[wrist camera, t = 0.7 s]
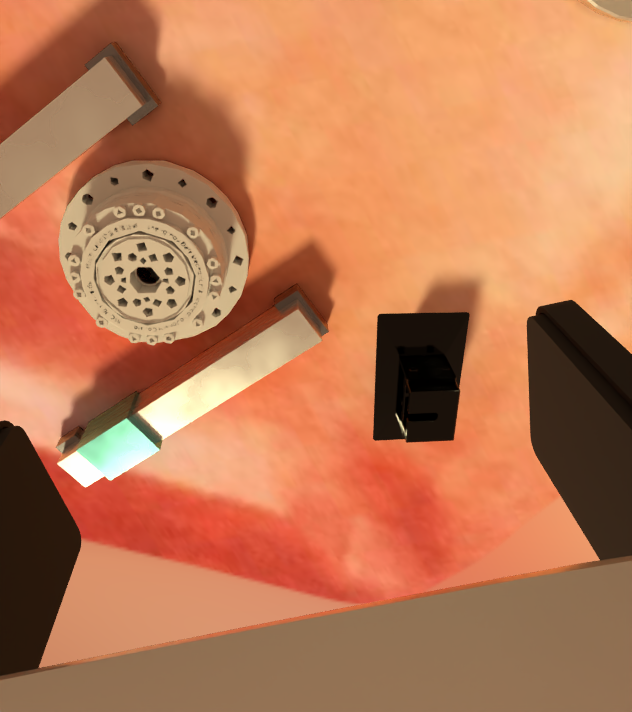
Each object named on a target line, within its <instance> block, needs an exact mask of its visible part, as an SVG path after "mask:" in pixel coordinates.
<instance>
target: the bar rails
mask: <svg viewBox="0 0 632 712" xmlns="http://www.w3.org/2000/svg"><path fill="white" fill-rule="evenodd" d="M85 66H86V67H87V69H88V70H89V71H88V72H86V73H85V74H84V75H83V76H82V77H80V78H79V79H78V80H77V81H76V82H74V83H73V84H72V85H71V86H70V87H68V88H67V89H66V90H65V91H64V92H62V93H61V94H60V95H59V96H58V97H56V98H55V99H54V100H53V101H52V102H50V103H49V104H48V105H47V106H46V107H44V108H43V109H42V110H41V111H40V112H38V113H37V114H36V115H35V116H34V117H32V118H31V119H30V120H29V121H28V122H26V123H25V124H24V125H23V126H22V127H20V128H19V129H18V130H17V131H16V132H14V133H13V134H12V135H11V136H9V137H8V138H7V139H6V140H5V141H3V142H2V143H1V144H0V219H1V218H2V217H3V216H5V215H6V214H7V213H8V212H10V211H11V210H12V209H14V208H15V207H16V206H17V205H19V204H20V203H21V202H22V201H24V200H25V199H26V198H27V197H29V196H30V195H31V194H32V193H34V192H35V191H36V190H37V189H39V188H40V187H41V186H43V185H44V184H45V183H46V182H48V181H49V180H50V179H51V178H53V177H54V176H55V175H56V174H58V173H59V172H60V171H61V170H63V169H64V168H65V167H67V166H68V165H69V164H70V163H72V162H73V161H74V160H75V159H77V158H78V157H79V156H80V155H82V154H83V153H84V152H85V151H87V150H88V149H89V148H91V147H92V146H93V145H94V144H96V143H97V142H98V141H99V140H101V139H102V138H103V137H104V136H106V135H107V134H108V133H109V132H111V131H112V130H113V129H115V128H116V127H117V126H118V125H120V124H121V123H122V122H123V121H125V120H126V119H128V121H129V122H130V123H131V124H132V126H133V125H134V124H135V123H137V122H138V121H139V120H140V119H142V118H143V117H144V116H146V115H147V114H148V113H149V112H151V111H152V110H153V109H154V108H156V107H157V106H158V105H160V104H161V102H160V100H159V99H158V98H157V96H156V95H155V94H154V92H153V91H152V90H151V88H150V87H149V86H148V84H147V83H146V82H145V80H144V79H143V78H142V76H141V75H140V74H139V72H138V71H137V70H136V68H135V67H134V66H133V64H132V63H131V62H130V60H129V59H128V58H127V56H126V55H125V54H124V52H123V51H122V50H121V48H120V47H119V46H118V44H117V43H116V42H114V43H110V44H109V45H108V46H107V47H106V48H104V49H103V50H102V51H101V52H100V53H98V54H97V55H96V56H95V57H94V58H92V59H91V60H90V61H89V62H88V63H86V64H85ZM327 332H329V331H328V325H327V323H326V322H325V320H324V319H323V318H322V316H321V315H320V314H319V312H318V311H317V310H316V308H315V307H314V306H313V304H312V303H311V302H310V300H309V299H308V298H307V296H306V295H305V294H304V292H303V291H302V290H301V288H300V287H299V286H298V284H296V285H294V286H292V287H291V288H289V289H288V290H286V291H285V292H283V293H282V294H280V295H279V296H277V297H276V298H274V307H272V308H271V309H269V310H268V311H266V312H264V313H263V314H261V315H260V316H258V317H257V318H255V319H254V320H252V321H251V322H249V323H248V324H246V325H244V326H243V327H241V328H240V329H238V330H237V331H235V332H234V333H232V334H231V335H229V336H228V337H226V338H224V339H223V340H221V341H220V342H218V343H217V344H215V345H214V346H212V347H211V348H209V349H207V350H206V351H204V352H203V353H201V354H200V355H198V356H197V357H195V358H194V359H192V360H191V361H189V362H187V363H186V364H184V365H183V366H181V367H180V368H178V369H177V370H175V371H174V372H172V373H171V374H169V375H167V376H166V377H164V378H163V379H161V380H160V381H158V382H157V383H155V384H154V385H152V386H151V387H149V388H147V389H146V390H144V391H143V392H141V393H140V394H139V393H138V392H137V391H136V392H134V393H133V394H131V395H130V396H128V397H127V398H125V399H124V400H122V401H121V402H119V403H118V404H116V405H114V406H113V407H111V408H110V409H108V410H107V411H105V412H104V413H102V414H101V415H99V416H98V417H96V418H95V419H93V420H91V421H90V422H89V423H88V425H87V427H86V429H84V430H83V429H82V428H81V427H79V426H78V427H77V428H75V429H74V430H72V431H71V432H69V433H68V434H66V435H64V436H63V437H61V438H60V440H59V442H58V444H57V446H56V448H57V449H58V450H59V451H60V452H62V455H61V457H60V459H59V461H58V463H57V464H58V465H59V466H61V467H62V468H63V469H64V470H65V471H66V472H68V473H69V474H70V475H71V476H72V477H74V478H75V479H76V480H77V481H78V482H79V483H81V484H82V485H83V486H84V487H87V486H89V485H90V484H92V483H93V482H95V481H97V480H98V479H100V478H102V477H103V476H105V477H107V478H108V479H109V480H112V479H114V478H115V477H117V476H118V475H120V474H122V473H123V472H125V471H127V470H128V469H130V468H131V467H133V466H135V465H136V464H138V463H140V462H141V461H143V460H144V459H146V458H148V457H149V456H151V455H153V454H154V453H156V452H157V451H159V450H160V448H161V444H162V440H163V439H164V438H166V437H168V436H169V435H171V434H173V433H174V432H176V431H177V430H179V429H181V428H182V427H184V426H185V425H187V424H189V423H190V422H192V421H194V420H195V419H197V418H198V417H200V416H202V415H203V414H205V413H206V412H208V411H210V410H211V409H213V408H214V407H216V406H218V405H219V404H221V403H223V402H224V401H226V400H227V399H229V398H231V397H232V396H234V395H235V394H237V393H239V392H240V391H242V390H244V389H245V388H247V387H248V386H250V385H252V384H253V383H255V382H256V381H258V380H260V379H261V378H263V377H265V376H266V375H268V374H269V373H271V372H273V371H274V370H276V369H277V368H279V367H281V366H282V365H284V364H285V363H287V362H289V361H290V360H292V359H294V358H295V357H297V356H298V355H300V354H302V353H303V352H305V351H306V350H308V349H310V348H311V347H313V346H315V345H316V344H318V343H319V342H321V341H322V336H323V335H324V334H326V333H327Z"/></svg>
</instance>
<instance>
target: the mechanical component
mask: <svg viewBox="0 0 632 712" xmlns="http://www.w3.org/2000/svg"><path fill="white" fill-rule="evenodd" d="M146 169H147V170H149V171H150V172H152V173H153V174H154V175H153V176H149V175H148V174H147V172H146ZM117 178H118V179H117ZM182 179H184V181H185V182H186V183H185V182H183V181H182ZM88 194H89V195H90V196H92V197H93V199H92V198H89V197H88ZM212 197H213V198H214V199H215V200H216V202H214V203H212V202H211V201H210V199H209V198H212ZM231 226H232V227H233V228H230V227H231ZM110 240H111V241H110ZM59 252H60V261H61V264H62V267H63V270H64V273H65V276H66V279H67V281H68V283H69V284H70V286H71V288H72V289H73V291H74V293H73V295H74V297H75V298H76V299H78V300H79V302H80V303H81V304H82V305H83V307H84V308H85V309H86V310H87V311H88V313H89V314H90V315H91V316H92V317H93V318H94V319H95V320H96V324H97V326H99V327H102V328H103V327H105V328H106V329H108V330H110V331H112V332H114V333H116V334H118V335H120V336H122V337H125V338H129V341H130V342H131V343H137V342H147V344H150V345H155V344H156V343H160V342H165V343H170V344H171V343H172V342H173V341H174V340H178V339H183V338H188V337H193V336H196V335H198V334H200V333H202V332H204V331H206V330H208V329H210V328H212V327H214V326H216V325H217V324H218V323H219V322H220V321H221V320H223V319H224V318H225V317H226V316H227V315H228V314H229V313H230V311H231V310H232V308H233V307H234V305H235V304H236V303H237V301H238V300H239V298H240V297H241V295H242V291H243V288H244V285H245V282H246V279H247V275H248V266H249V252H248V240H247V234H246V231H245V229H244V226H243V224H242V221H241V219H240V216H239V214H238V212H237V211H236V209H235V208H234V206H233V205H232V203H231V202H230V200H229V199H228V197H227V196H226V195H225V194H224V193H223V192H222V191H221V190H220V189H219V188H218V187H217V186H215V185H214V184H213V183H212V182H211V181H209V180H208V179H206V178H205V177H203V176H201V175H200V174H198V173H197V172H195V171H194V170H191V169H188V168H185V167H182V166H179V165H176V164H174V163H171V162H168V161H165V160H133V161H129V162H125V163H121V164H117V165H114V166H112V167H110V168H109V169H107V170H105V171H103V172H101V173H99V174H97V175H96V176H94V177H93V178H92V179H91V180H90V181H89V182H87V183H86V184H85V185H84V186H83V187H82V188H81V189H80V190H79V191H78V193H77V194H76V195H75V196H74V198H73V199H72V200H71V202H70V203H69V204H68V206H67V208H66V211H65V214H64V216H63V219H62V222H61V227H60V234H59ZM236 255H237V256H239V257H241V258H242V259H240V258H237V257H236ZM138 267H145V268H146V269H147V270H148V271H149V272H150V273H151V278H156V283H153V282H151V281H148V280H145V279H142V278H141V277H140V276H139V275H137V268H138ZM215 308H218V309H215Z"/></svg>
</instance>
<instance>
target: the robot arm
mask: <svg viewBox="0 0 632 712" xmlns="http://www.w3.org/2000/svg"><path fill="white" fill-rule="evenodd" d="M578 1H580V2H581V3H583V4H584V5H586V6H587V7H589V8H590V9H592V10H593V11H595V12H596V13H598V14H601V15H604V16H607V17H610V18H613V19H616V20H618V21H626V22H632V0H578ZM527 345H528V374H529V404H530V433H531V442H532V446H533V449H534V452H535V454H536V456H537V458H538V459H539V461H540V463H541V464H542V466H543V468H544V469H545V471H546V472H547V474H548V476H549V477H550V479H551V481H552V482H553V484H554V486H555V487H556V489H557V490H558V492H559V494H560V495H561V497H562V498H563V500H564V502H565V503H566V505H567V507H568V508H569V510H570V512H571V513H572V515H573V517H574V518H575V520H576V521H577V523H578V525H579V526H580V528H581V529H582V531H583V533H584V534H585V536H586V538H587V539H588V541H589V543H590V544H591V546H592V547H593V549H594V551H595V552H596V554H597V556H598V557H599V559H600V561H593V562H587V563H580V564H574V565H569V566H563V567H558V568H553V569H548V570H543V571H537V572H532V573H526V574H521V575H515V576H509V577H503V578H498V579H493V580H487V581H482V582H477V583H472V584H467V585H461V586H456V587H450V588H445V589H440V590H435V591H429V592H424V593H419V594H414V595H408V596H403V597H398V598H393V599H387V600H382V601H377V602H372V603H366V604H361V605H356V606H351V607H346V608H341V609H335V610H330V611H325V612H320V613H314V614H309V615H304V616H299V617H294V618H289V619H284V620H279V621H274V622H268V623H263V624H259V625H253V626H248V627H243V628H238V629H233V630H228V631H223V632H217V633H212V634H207V635H203V636H197V637H192V638H187V639H182V640H177V641H172V642H167V643H162V644H157V645H151V646H146V647H142V648H137V649H132V650H127V651H122V652H117V653H112V654H107V655H102V656H97V657H93V658H88V659H82V660H77V661H72V662H68V663H62V664H57V665H52V666H47V667H42V668H38V667H39V664H40V662H41V659H42V656H43V653H44V650H45V647H46V645H47V642H48V639H49V636H50V633H51V630H52V627H53V625H54V622H55V619H56V616H57V613H58V611H59V607H60V605H61V602H62V599H63V596H64V594H65V591H66V588H67V585H68V582H69V580H70V577H71V574H72V571H73V568H74V565H75V562H76V560H77V556H78V554H79V551H80V548H81V535H80V531H79V529H78V527H77V525H76V523H75V521H74V519H73V517H72V516H71V514H70V512H69V510H68V508H67V507H66V505H65V503H64V501H63V499H62V498H61V496H60V494H59V492H58V490H57V488H56V487H55V485H54V483H53V481H52V479H51V478H50V476H49V474H48V472H47V470H46V469H45V467H44V465H43V463H42V461H41V459H40V458H39V456H38V454H37V452H36V450H35V449H34V447H33V445H32V443H31V441H30V440H29V438H28V436H27V434H26V432H25V431H24V430H23V428H21V427H20V426H14V425H13V424H12V423H10V422H9V421H0V712H632V354H631V353H630V352H629V351H628V350H627V349H625V348H624V347H623V346H622V345H621V344H620V343H619V342H618V341H617V340H616V339H615V338H614V337H612V336H611V335H610V334H609V333H608V332H607V331H606V330H605V329H604V328H603V327H602V326H601V325H599V324H598V323H597V322H596V321H595V320H594V319H593V318H592V317H591V316H590V315H589V314H588V313H587V312H585V311H584V310H583V309H582V308H581V307H580V306H579V305H578V304H577V303H576V302H574V301H573V300H568V301H563V302H559V303H554V304H549V305H545V306H540V307H538V309H537V311H536V316H531V317H529V318H528V320H527Z"/></svg>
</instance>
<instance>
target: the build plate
mask: <svg viewBox="0 0 632 712" xmlns="http://www.w3.org/2000/svg"><path fill="white" fill-rule="evenodd" d="M468 321H469V313H467V312H459V313H401V314H379V315H378V322H377V349H376V376H375V404H374V431H373V439H374V440H394V439H405V440H406V442H429V441H451V440H454V433H455V426H456V418H457V411H458V403H459V396H460V389H459V385H460V378H461V371H462V364H463V357H464V350H465V343H466V336H467V329H468Z"/></svg>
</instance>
